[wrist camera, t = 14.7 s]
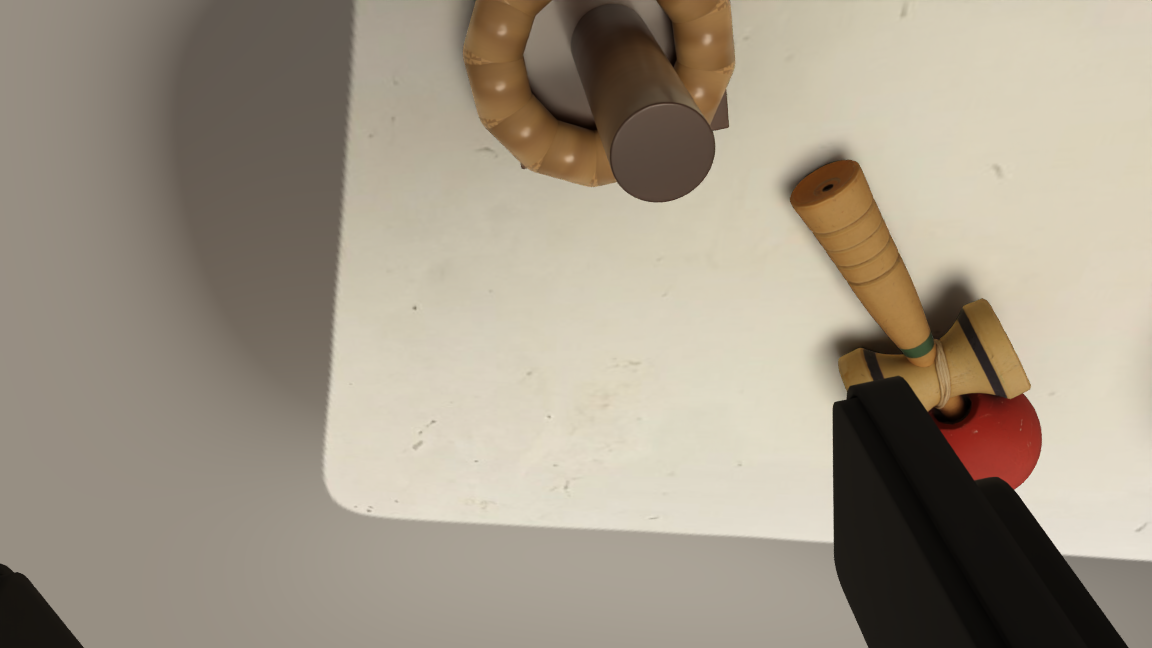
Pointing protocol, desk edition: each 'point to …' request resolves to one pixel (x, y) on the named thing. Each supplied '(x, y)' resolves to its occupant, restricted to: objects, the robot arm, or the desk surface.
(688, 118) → the brown peg stand
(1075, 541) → the desk surface
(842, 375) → the kendama
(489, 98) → the ring
